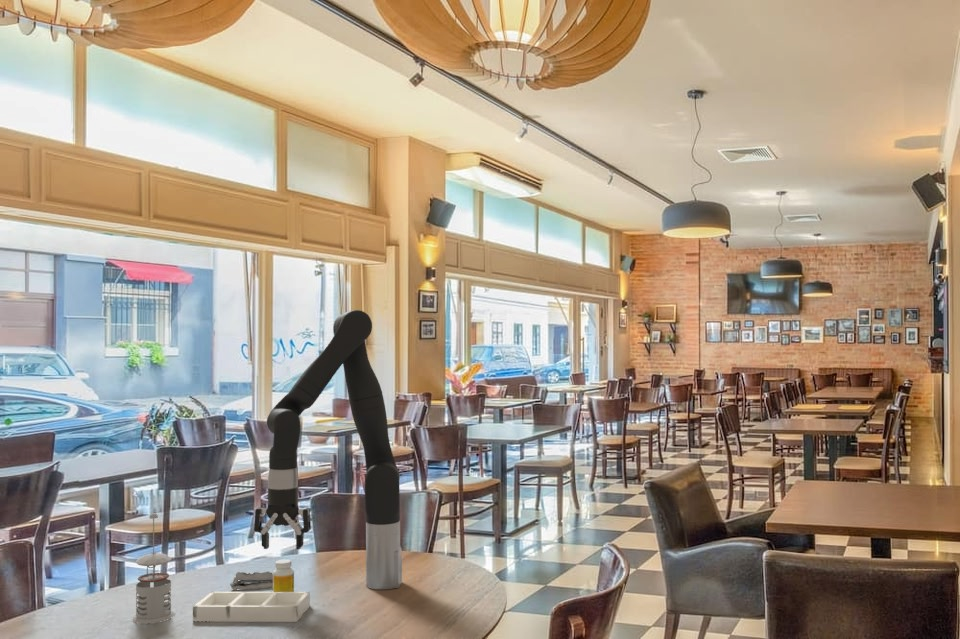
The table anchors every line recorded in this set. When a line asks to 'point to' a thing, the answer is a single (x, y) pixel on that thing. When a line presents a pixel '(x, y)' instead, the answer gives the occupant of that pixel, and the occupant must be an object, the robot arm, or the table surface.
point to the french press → (153, 589)
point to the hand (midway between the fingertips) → (282, 548)
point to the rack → (251, 607)
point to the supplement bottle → (283, 576)
